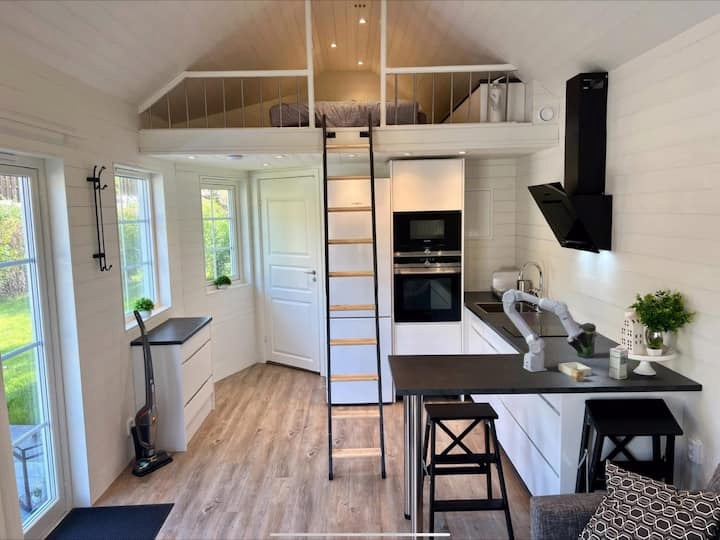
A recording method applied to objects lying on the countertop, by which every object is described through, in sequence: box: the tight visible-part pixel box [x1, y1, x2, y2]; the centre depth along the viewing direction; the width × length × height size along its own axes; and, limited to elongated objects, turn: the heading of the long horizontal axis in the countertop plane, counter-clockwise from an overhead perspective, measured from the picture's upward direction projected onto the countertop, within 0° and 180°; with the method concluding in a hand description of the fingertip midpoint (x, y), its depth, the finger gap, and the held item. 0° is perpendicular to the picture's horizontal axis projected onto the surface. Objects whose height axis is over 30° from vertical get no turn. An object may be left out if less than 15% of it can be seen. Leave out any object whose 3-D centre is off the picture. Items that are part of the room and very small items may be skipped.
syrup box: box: [608, 346, 629, 380], centre depth 246 cm, size 6×6×14 cm
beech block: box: [570, 369, 585, 383], centre depth 243 cm, size 4×4×5 cm
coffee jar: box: [576, 322, 597, 359], centre depth 280 cm, size 10×8×19 cm
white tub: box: [557, 361, 593, 377], centre depth 253 cm, size 11×11×4 cm
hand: (584, 349), depth 247 cm, fingers open, 7 cm apart
